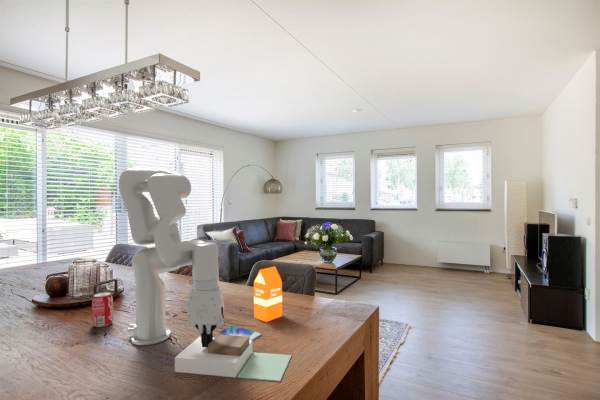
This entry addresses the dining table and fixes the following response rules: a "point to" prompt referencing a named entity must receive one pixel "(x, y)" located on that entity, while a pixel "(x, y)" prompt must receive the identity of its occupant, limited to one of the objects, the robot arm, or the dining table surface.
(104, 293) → the soda can
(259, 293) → the orange juice
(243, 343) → the walnut tile
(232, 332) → the smartphone
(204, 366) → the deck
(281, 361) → the mat
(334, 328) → the dining table surface
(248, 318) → the dining table surface
